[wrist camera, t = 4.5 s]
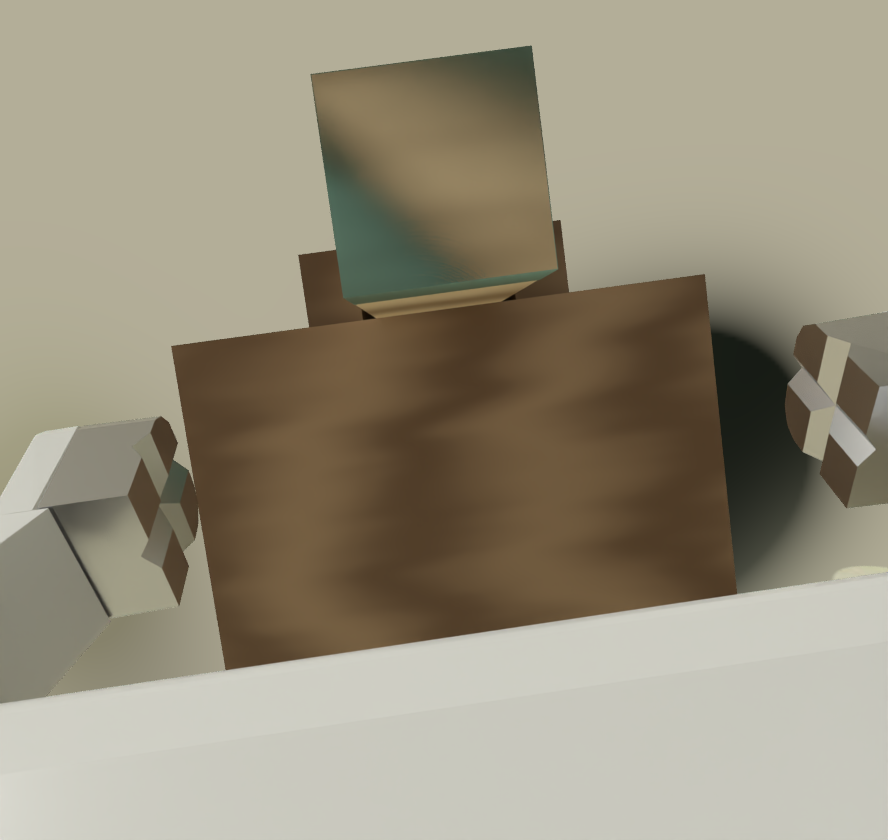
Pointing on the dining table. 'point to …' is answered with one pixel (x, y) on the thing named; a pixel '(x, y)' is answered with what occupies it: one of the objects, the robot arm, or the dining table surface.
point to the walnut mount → (456, 465)
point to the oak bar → (436, 180)
